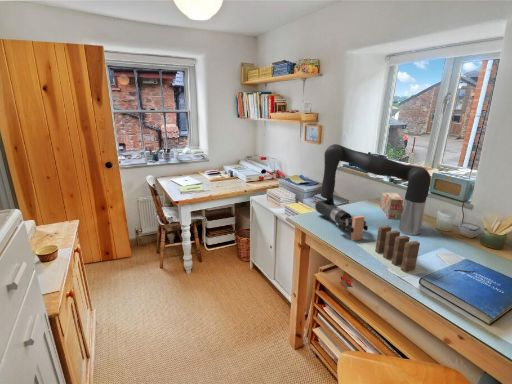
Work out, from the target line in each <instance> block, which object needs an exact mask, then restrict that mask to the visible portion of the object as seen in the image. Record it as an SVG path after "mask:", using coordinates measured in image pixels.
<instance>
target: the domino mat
mask: <svg viewBox="0 0 512 384" xmlns="http://www.w3.org/2000/svg"><path fill="white" fill-rule="evenodd" d="M376 242H377V240H375V241H368V242H363V243H357V246H358V247H360V248H361V249H363V250H364V251H366V252H367V253H368V254H369V255H370V256H372V257H374V258H375V259H376V260H377V261H379V262H380V263H381V264H383V265H384V266H385V267H387V268H388V269H390V270H391V271H392V272H394V273H395V274H396V275H398V276H399V277H400V278H404V277H408V276H411V275H416V274H420V273H421V274H422V273H426V271H425V270H424V269H423V268H422V267H419V266H418V265H417V264H416V267H415V270H414V271H409V272H403V271H402V270H401V265H402V264H401V265H396V266H395V265H393V264H392V259H385V258H384V257H383V254H384V253H379V254H378V253H377V252H375V249H376Z"/></svg>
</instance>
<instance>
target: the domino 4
mask: <svg viewBox="0 0 512 384" xmlns="http://www.w3.org/2000/svg"><path fill="white" fill-rule="evenodd" d="M420 245H421V243H420V242H419V241H417V240H414V241H413V240H412V241H409V242H406V243H405V248H404V254H403V259H402V265H401V270H402V271H403V272H409V271H414V270H415V267H416V265H417V262H418V255H419V251H420Z"/></svg>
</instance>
